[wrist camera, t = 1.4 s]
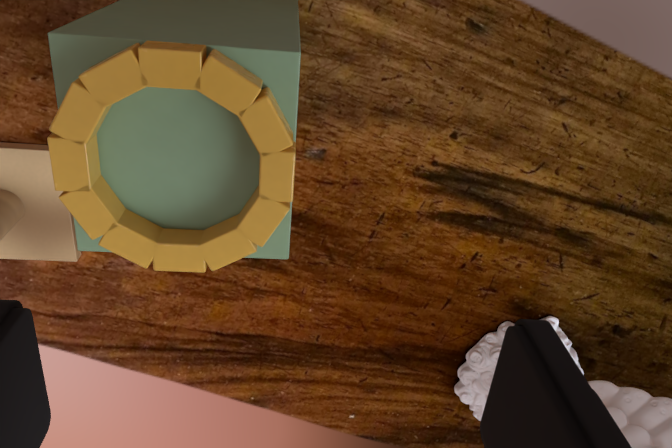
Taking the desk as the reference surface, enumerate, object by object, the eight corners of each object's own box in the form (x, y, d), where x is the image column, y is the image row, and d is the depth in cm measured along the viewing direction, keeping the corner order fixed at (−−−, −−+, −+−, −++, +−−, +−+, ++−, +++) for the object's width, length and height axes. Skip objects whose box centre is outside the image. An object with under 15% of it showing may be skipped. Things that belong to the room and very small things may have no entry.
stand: (155, -17, 32) (46, 32, 18) (297, -4, 33) (301, 52, 19) (162, 121, 36) (77, 251, 22) (290, 129, 37) (288, 259, 22)
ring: (46, 32, 18) (31, 39, 17) (301, 52, 19) (301, 59, 18) (77, 251, 22) (66, 268, 21) (288, 259, 22) (288, 276, 21)
